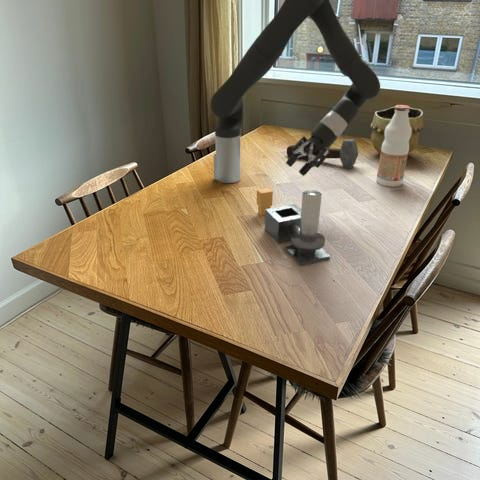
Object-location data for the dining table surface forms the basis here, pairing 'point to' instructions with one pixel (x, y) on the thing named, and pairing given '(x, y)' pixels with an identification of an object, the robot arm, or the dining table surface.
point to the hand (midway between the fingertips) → (294, 169)
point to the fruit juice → (395, 148)
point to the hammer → (337, 153)
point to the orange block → (264, 200)
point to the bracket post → (298, 228)
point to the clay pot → (384, 119)
